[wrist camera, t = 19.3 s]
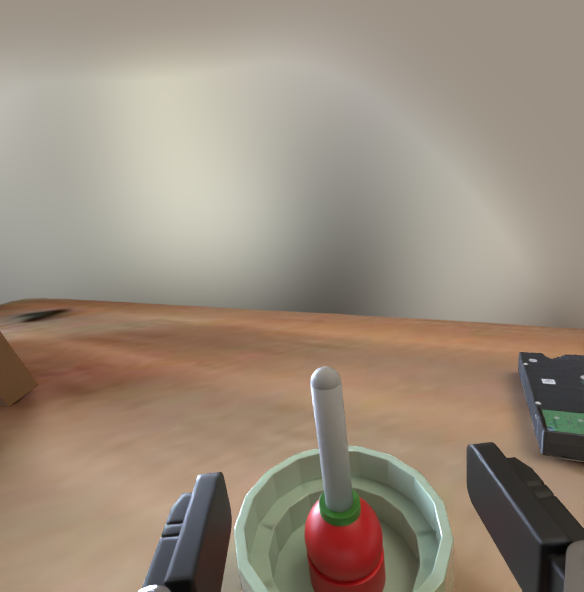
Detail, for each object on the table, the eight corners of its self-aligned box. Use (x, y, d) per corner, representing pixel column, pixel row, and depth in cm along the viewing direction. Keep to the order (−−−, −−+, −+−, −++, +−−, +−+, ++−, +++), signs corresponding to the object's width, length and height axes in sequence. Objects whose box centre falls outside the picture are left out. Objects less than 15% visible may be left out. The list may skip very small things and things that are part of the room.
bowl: (266, 752, 17) (248, 676, 15) (239, 527, 28) (228, 471, 27) (504, 654, 19) (507, 580, 18) (389, 482, 31) (386, 429, 29)
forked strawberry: (323, 624, 21) (291, 401, 17) (302, 551, 25) (272, 359, 21) (399, 597, 22) (386, 378, 18) (366, 530, 26) (349, 343, 22)
